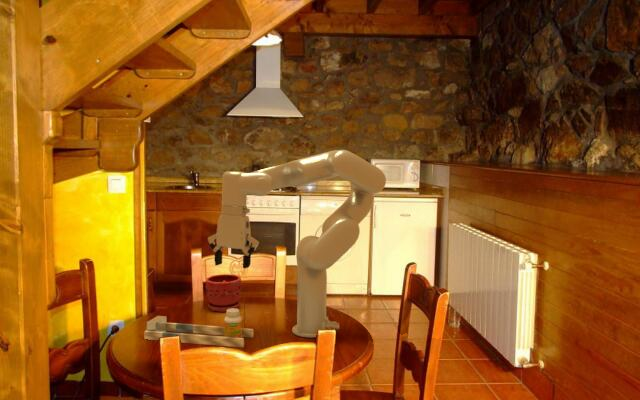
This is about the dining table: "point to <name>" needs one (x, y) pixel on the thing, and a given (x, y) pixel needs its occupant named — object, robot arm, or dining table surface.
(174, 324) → the guide channel
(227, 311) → the supplement bottle
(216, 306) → the plant pot
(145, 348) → the dining table surface
